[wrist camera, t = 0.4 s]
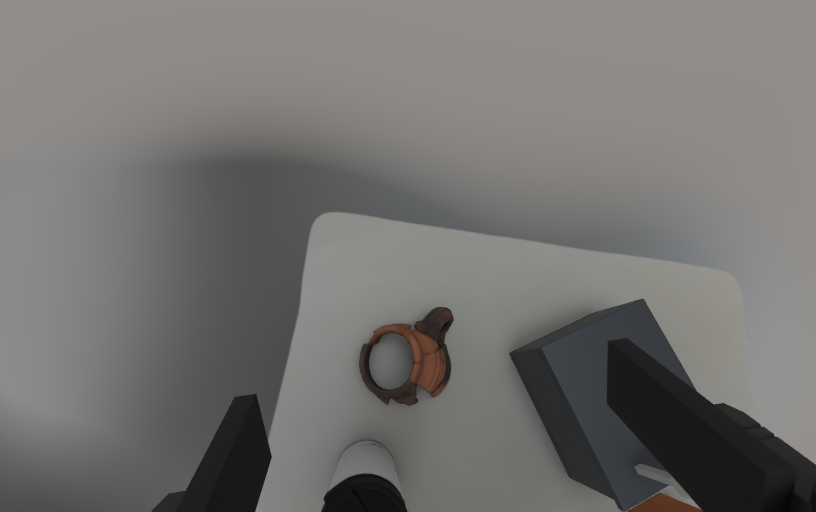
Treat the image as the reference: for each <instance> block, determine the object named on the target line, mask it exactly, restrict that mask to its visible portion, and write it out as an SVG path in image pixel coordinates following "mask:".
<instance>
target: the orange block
mask: <svg viewBox="0 0 816 512" xmlns="http://www.w3.org/2000/svg"><path fill="white" fill-rule="evenodd" d="M629 512H703V511H702V510H701V509H698V508H696V507H693V506H691V505H688V504H686V503H683V502H681V501H678V500H676V499H673V498H671V497H668V496H666V495H663V494H661V493H660V494H658V495H656V496H655V497H653V498H651V499H650V500H648V501H646V502H645V503H643V504H641V505H640V506H638V507H636V508H635V509H633V510H631V511H629Z"/></svg>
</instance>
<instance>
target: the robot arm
mask: <svg viewBox="0 0 816 512" xmlns="http://www.w3.org/2000/svg"><path fill="white" fill-rule="evenodd" d="M607 405H608V406H609V407H610V408H611V409H612V410H613V411H614V412H615V414H616V415H617V416H618V417H619V418H620V419H621V420H622V421H623V422H624V424H625V425H626V426H627V427H628V428H629V429H630V430H631V431H632V433H633V434H634V435H635V436H636V437H637V438H638V439H639V440H640V441H641V443H642V444H643V445H644V446H645V447H646V448H647V449H648V450H649V451H650V453H651V454H652V455H653V456H654V457H655V458H656V459H657V460H658V461H659V463H660V464H661V465H662V466H663V467H664V468H665V469H666V470H667V472H668V473H669V474H670V475H671V476H672V477H673V478H674V479H675V480H676V482H677V483H678V484H679V485H680V486H681V487H682V488H683V489H684V490H685V492H686V493H687V494H688V495H689V496H690V497H691V498H692V499H693V500H694V502H695V503H696V504H697V505H698V506H699V507H700V508H701V509H702V511H703V512H816V465H815V464H814V463H812V462H811V461H810V460H808V459H807V458H806V457H804V456H803V455H802V454H800V453H799V452H798V451H796V450H795V449H793V448H792V447H791V446H789V445H788V444H786V443H785V442H784V441H782V440H781V439H780V438H778V437H775V436H774V434H773V433H771V432H770V431H769V430H767V429H766V428H765V427H761V425H760V424H759V423H758V422H756V421H755V420H754V419H752V418H751V417H750V416H748V415H747V414H745V413H744V412H742V411H740V410H738V409H735V408H733V407H731V406H729V405H727V404H724V403H721V404H715V405H714V404H712V403H711V402H710V401H708V400H707V399H706V398H705V397H703V396H702V395H701V394H699V393H698V392H697V391H695V390H694V389H693V388H692V387H690V386H689V385H688V384H686V383H685V382H684V381H682V380H681V379H680V378H679V377H677V376H676V375H675V374H673V373H672V372H671V371H670V370H668V369H667V368H666V367H664V366H663V365H662V364H660V363H659V362H658V361H657V360H655V359H654V358H653V357H651V356H650V355H649V354H647V353H646V352H645V351H644V350H642V349H641V348H640V347H638V346H637V345H636V344H634V343H633V342H632V341H631V340H629V339H628V338H623V339H617V340H610V341H608V353H607ZM271 458H272V456H271V452H270V448H269V444H268V440H267V436H266V432H265V427H264V424H263V419H262V415H261V411H260V407H259V403H258V399H257V395H256V394H252V395H245V396H239V397H235V398H234V400H233V401H232V403H231V406H230V407H229V409H228V411H227V413H226V415H225V417H224V419H223V421H222V423H221V425H220V426H219V428H218V430H217V432H216V434H215V436H214V438H213V440H212V442H211V444H210V446H209V448H208V449H207V451H206V453H205V455H204V457H203V459H202V461H201V463H200V465H199V467H198V468H197V470H196V472H195V474H194V476H193V478H192V480H191V482H190V484H189V486H188V488H187V490H186V491H182V492H176V493H171V494H168V495H167V496H166V497H165V498H164V499H163V500H162V501H161V502H160V503H159V504H158V505H157V506H156V507H155V508H154V509H153V510H152V512H255V510H256V507H257V504H258V500H259V497H260V494H261V491H262V487H263V484H264V481H265V477H266V474H267V471H268V468H269V464H270V461H271Z"/></svg>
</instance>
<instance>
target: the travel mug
mask: <svg viewBox="0 0 816 512" xmlns="http://www.w3.org/2000/svg"><path fill="white" fill-rule="evenodd" d="M321 512H408V509H407V505H406V502H405V498H404V495H403V492H402V488H401V485H400V481H399V478H398V475H397V471H396V468H395V465H394V461H393V458H392V456H391V454H390V452H389V451H388V450H387V448H385V447H384V446H383V445H382V444H380V443H378V442H376V441H372V440H361V441H358V442H355V443H353V444H352V445H350V446H349V447H348V448H347V449H346V450H345V451H344V452H343V453H342V455H341V457H340V459H339V461H338V464H337V466H336V469H335V472H334V475H333V477H332V480H331V483H330V486H329V489H328V491H327V494H326V495H325V496H324V503H323V506H322V509H321Z"/></svg>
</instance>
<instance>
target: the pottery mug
mask: <svg viewBox="0 0 816 512" xmlns="http://www.w3.org/2000/svg"><path fill="white" fill-rule="evenodd" d="M453 319H454V318H453V315H452V313H451V310H450V309H448V308H446V307H437V308H435V309H433V310H432V311H431V312H430V313H429V314H428V315H427V316H426V317H425V318H424V319H423V320H422V321H418V322H416V323H415V329H416V330H412V329H410V328H411V325H409V324H393V325H386V326H382V327H380V328H378V329H377V330H375V331H374V335H373V336H372V338H371V339H370V341H369V343H367V344H364V345H363V347H362V350H361V353H360V360H359V367H360V372H361V375H362V378H363V381H364V383H365V384H366V386H367V387H368V389H369V390H370V391H371V392H373V393H374V394H375V395H376V396H377V397H378V398H379V399H380V400H381V401H383V402H384V403H386V404H387V405H388V404H389V400H390V398H393V399H394V400H395V401H396V402H398V403H401V404H406V405H408V406H410V405H413V404H416V403H417V402H418V399H417V398H416V385H417V384H418V385H419V386H420V387H422V388H423V389H424V390H426V391H427V392H432V391H434V390H435V389H436V388H437V386H438V388H437V389H436V390H435V391H434V392H433V393H432V394H431V396H432V397H436V396H437V395H439V394H440V393H441V392H442V390H443V389H444V388H445V386H446V385H447V383H448V380H449V378H450V373H451V361H450V357H449V355H448V351H447V347H446V345H445V344H444V339H445V335H446V332H447V331H448V329H449V327H450V326H451V324H452V322H453ZM388 333H397V334H400V335H402V336H404V337H405V338H406V339H407V340H408V342H409V343H410V345H411V348H412V351H413V356H414V364H413V369H412V372H411V374H410V376H409V378H408V380H407V381H406V382H405V383H404V384H403V385H402V386H400V387H398V388H396V389H392V390H386V389H383V388H381V387H380V386H378V385H377V384H376V383H375V381H374V380H373V378H372V376H371V373H370V369H369V356H370V352H371V349H372V347H373V345H375V344H377V343H378V342H379V340H380V339H381V337H382V336H383V335H385V334H388ZM438 346H439V349H438Z"/></svg>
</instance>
